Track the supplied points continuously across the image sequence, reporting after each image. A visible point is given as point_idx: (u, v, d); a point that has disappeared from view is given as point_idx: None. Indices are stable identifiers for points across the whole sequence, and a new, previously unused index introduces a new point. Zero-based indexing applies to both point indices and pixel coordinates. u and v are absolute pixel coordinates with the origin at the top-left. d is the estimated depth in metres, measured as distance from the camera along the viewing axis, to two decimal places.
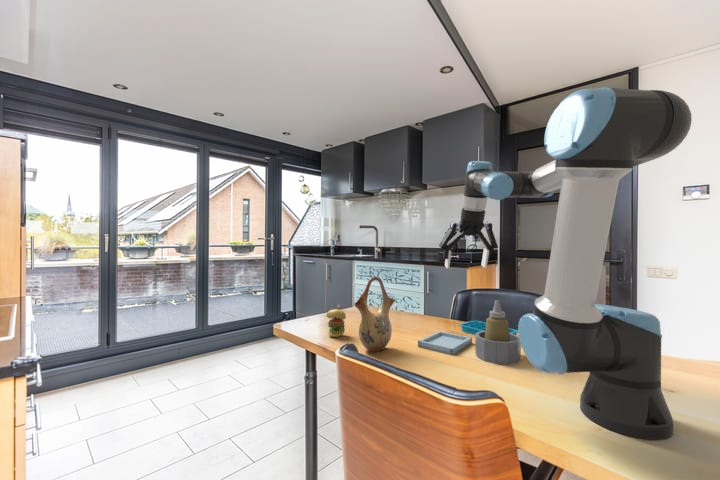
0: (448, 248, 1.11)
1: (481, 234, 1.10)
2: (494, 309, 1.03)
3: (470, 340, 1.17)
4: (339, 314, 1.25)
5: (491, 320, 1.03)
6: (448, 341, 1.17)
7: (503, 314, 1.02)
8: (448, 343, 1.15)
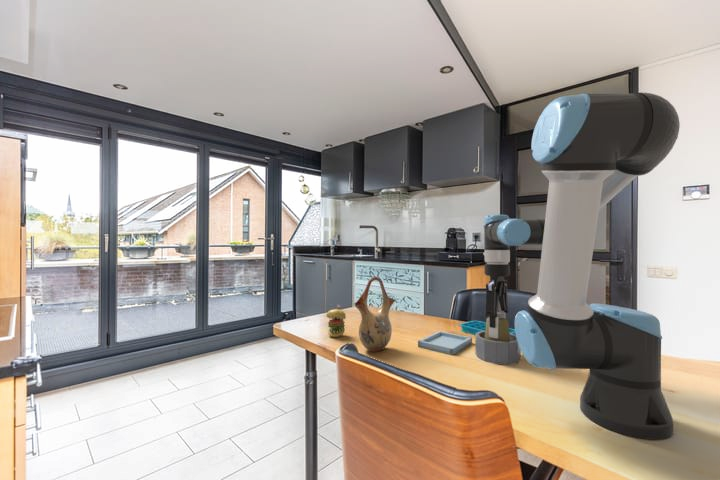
0: (496, 314, 1.00)
1: (504, 291, 1.05)
2: None
3: (470, 340, 1.17)
4: (339, 314, 1.25)
5: None
6: (448, 341, 1.17)
7: (503, 314, 1.02)
8: (448, 343, 1.15)
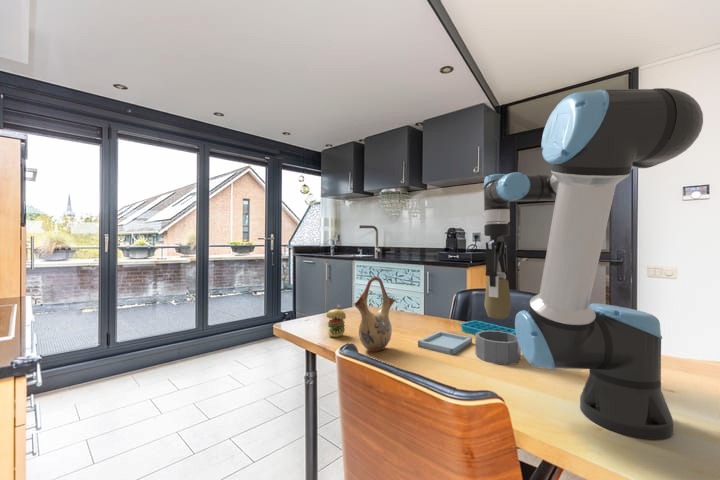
0: (496, 273, 1.00)
1: (504, 252, 1.05)
2: None
3: (470, 340, 1.17)
4: (339, 314, 1.25)
5: None
6: (448, 341, 1.17)
7: (503, 274, 1.02)
8: (448, 343, 1.15)
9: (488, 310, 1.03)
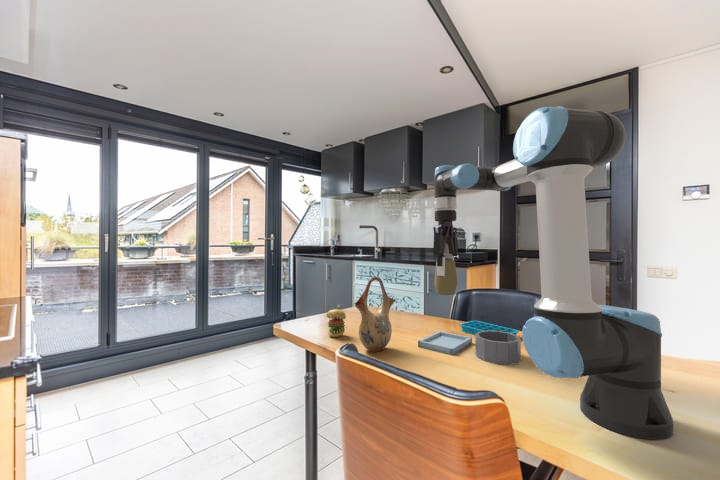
0: (443, 254, 1.12)
1: (452, 235, 1.16)
2: None
3: (470, 340, 1.17)
4: (339, 314, 1.25)
5: None
6: (448, 341, 1.17)
7: (450, 255, 1.14)
8: (448, 343, 1.15)
9: (437, 287, 1.15)
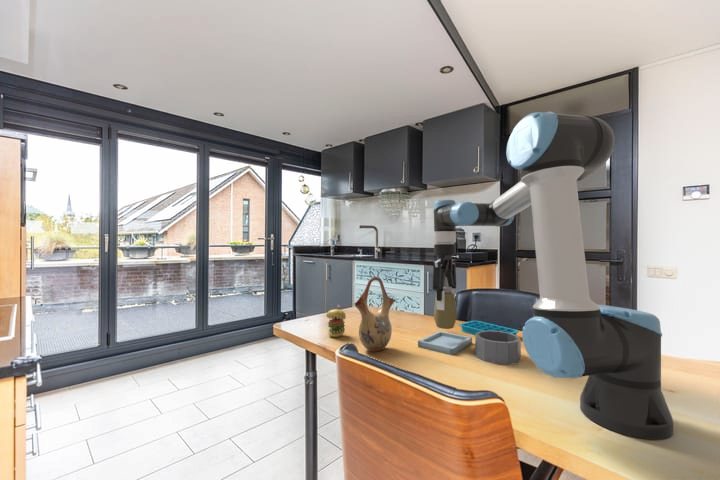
0: (442, 288, 1.12)
1: (452, 268, 1.16)
2: None
3: (470, 340, 1.17)
4: (339, 314, 1.25)
5: None
6: (448, 341, 1.17)
7: (449, 289, 1.14)
8: (448, 343, 1.15)
9: (436, 321, 1.15)
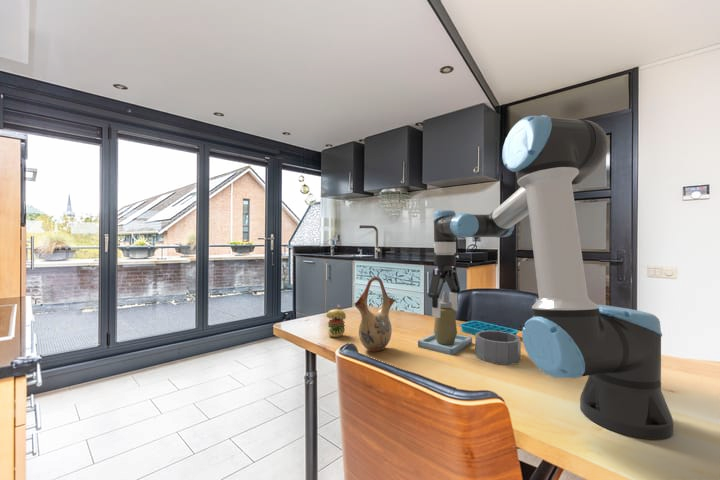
0: (438, 295, 1.09)
1: (453, 277, 1.17)
2: (442, 300, 1.15)
3: (470, 340, 1.17)
4: (339, 314, 1.25)
5: None
6: None
7: (449, 304, 1.14)
8: None
9: (436, 336, 1.15)
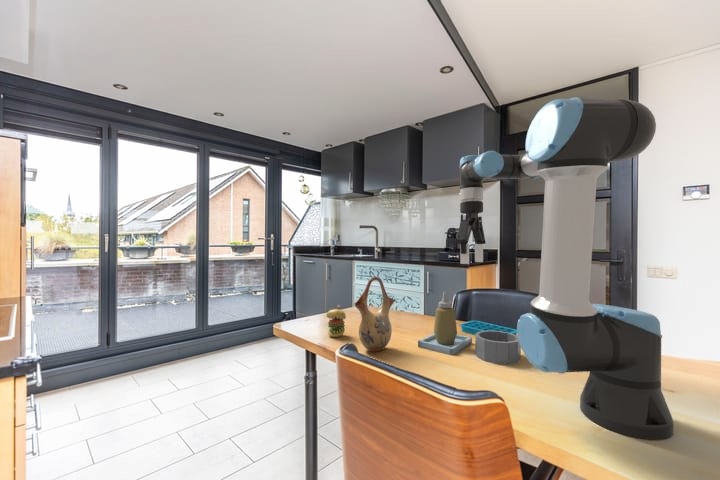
0: (467, 241, 1.05)
1: (479, 226, 1.13)
2: (442, 300, 1.15)
3: (470, 340, 1.17)
4: (339, 314, 1.25)
5: (439, 310, 1.14)
6: None
7: (450, 304, 1.14)
8: None
9: (436, 336, 1.15)
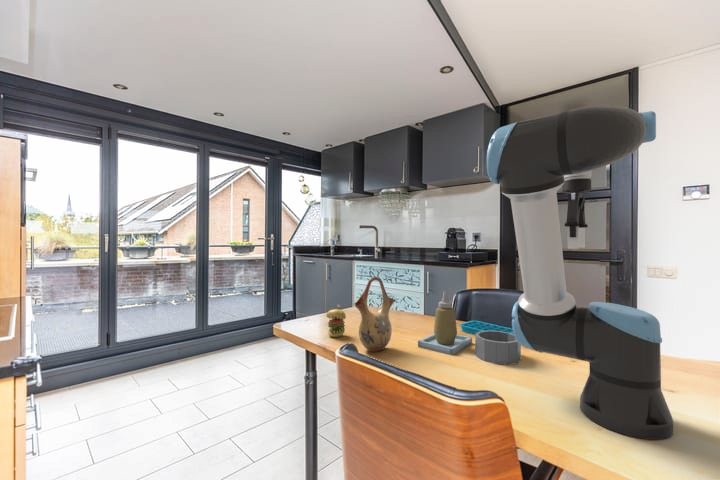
0: (577, 223, 0.94)
1: (584, 207, 1.01)
2: (442, 300, 1.15)
3: (470, 340, 1.17)
4: (339, 314, 1.25)
5: (439, 310, 1.14)
6: None
7: (450, 304, 1.14)
8: None
9: (436, 336, 1.15)
